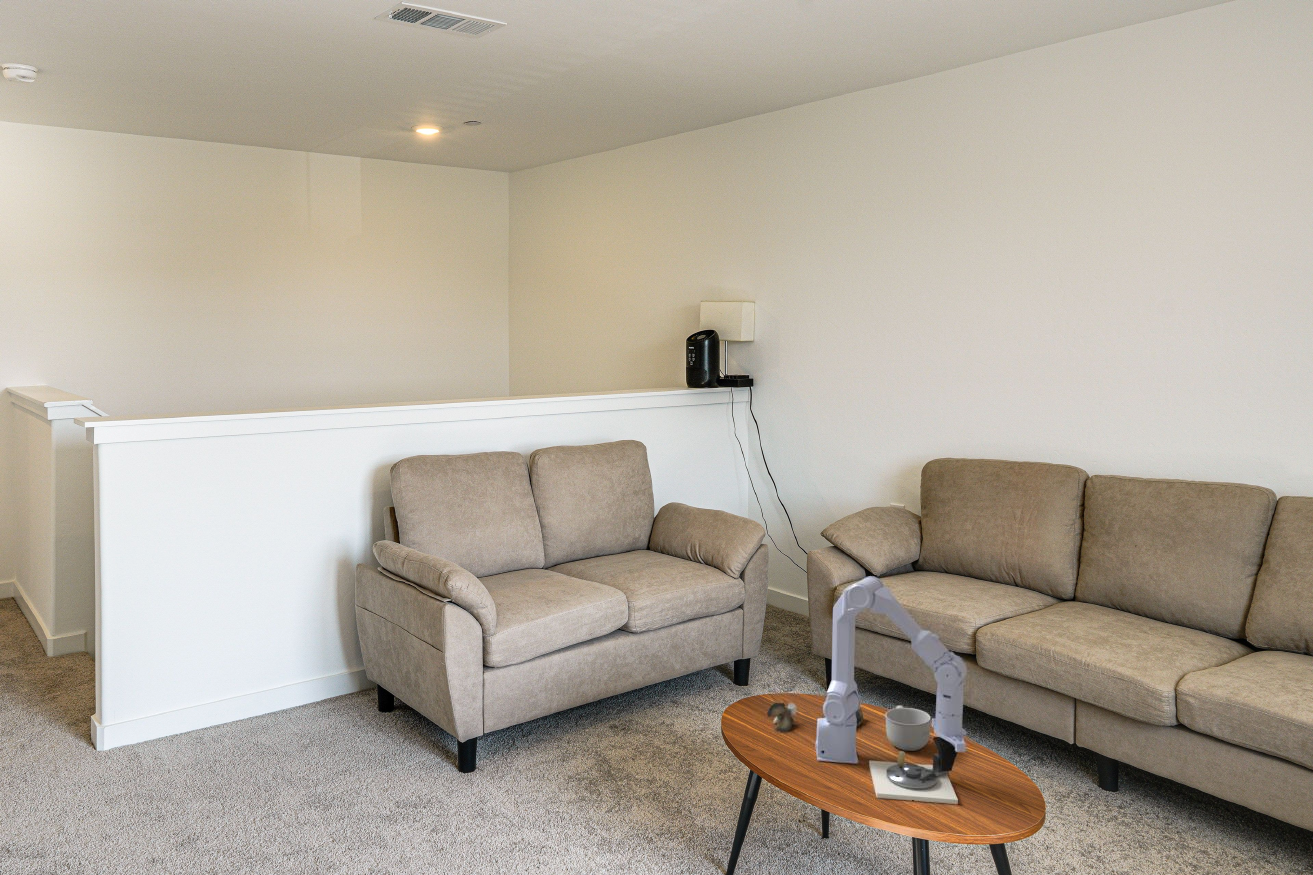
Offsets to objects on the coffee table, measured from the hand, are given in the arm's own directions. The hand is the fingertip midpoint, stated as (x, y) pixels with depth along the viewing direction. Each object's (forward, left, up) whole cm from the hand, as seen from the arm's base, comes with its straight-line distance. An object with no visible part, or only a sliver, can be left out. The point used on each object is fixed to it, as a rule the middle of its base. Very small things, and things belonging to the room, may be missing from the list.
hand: (946, 770), depth 207 cm
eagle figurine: (-37, +28, -3) cm, 46 cm away
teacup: (-6, +22, -3) cm, 22 cm away
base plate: (-8, -1, -3) cm, 9 cm away
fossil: (-21, +33, -3) cm, 39 cm away
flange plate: (-6, -1, -2) cm, 6 cm away
